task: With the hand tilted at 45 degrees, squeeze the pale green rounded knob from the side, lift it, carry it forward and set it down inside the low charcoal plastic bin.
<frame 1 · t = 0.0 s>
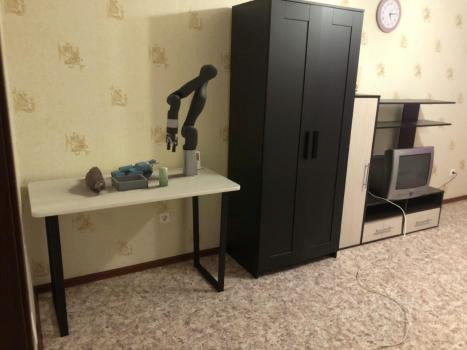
hand: (171, 151, 244), 17 cm above the table, tool pointing down, fingers open, 8 cm apart
toy: (136, 177, 245), on the table
bin: (130, 186, 223), on the table
pale green rounded knob: (163, 185, 227), on the table
cassava root: (94, 186, 221), on the table
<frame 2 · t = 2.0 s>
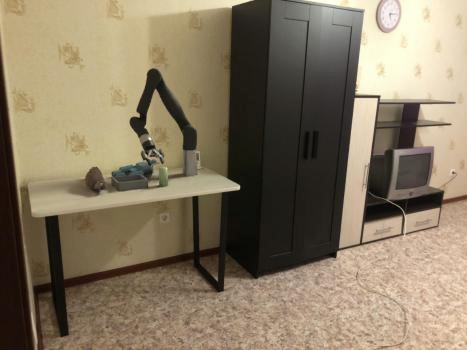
hand: (157, 164, 229), 12 cm above the table, tool tilted 45°, fingers open, 8 cm apart
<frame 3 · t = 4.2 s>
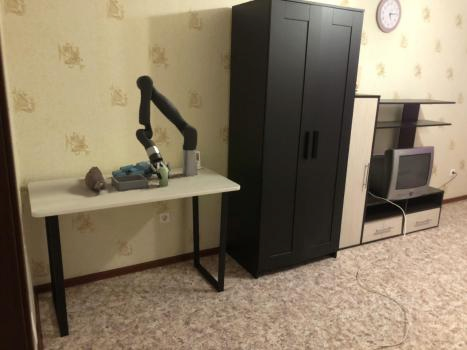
hand: (165, 178, 224), 5 cm above the table, tool tilted 45°, fingers closed on pale green rounded knob, 5 cm apart
pale green rounded knob: (163, 185, 227), on the table, touching gripper
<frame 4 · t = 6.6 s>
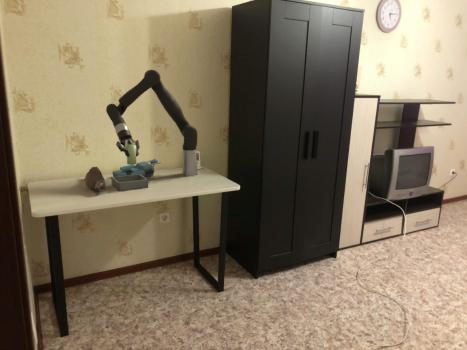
hand: (133, 155, 217), 19 cm above the table, tool tilted 45°, fingers closed on pale green rounded knob, 5 cm apart
pale green rounded knob: (131, 163, 219), point 14 cm above the table, touching gripper
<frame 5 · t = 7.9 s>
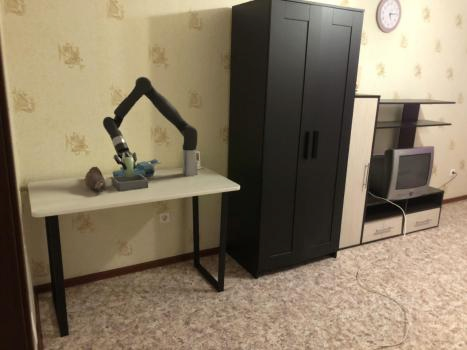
hand: (130, 168, 219), 11 cm above the table, tool tilted 45°, fingers closed on pale green rounded knob, 5 cm apart
pale green rounded knob: (129, 176, 221), point 6 cm above the table, touching gripper
when the fingers open (7 cm above the table, at t = 8.9 s): pale green rounded knob drops 2 cm, resting on bin.
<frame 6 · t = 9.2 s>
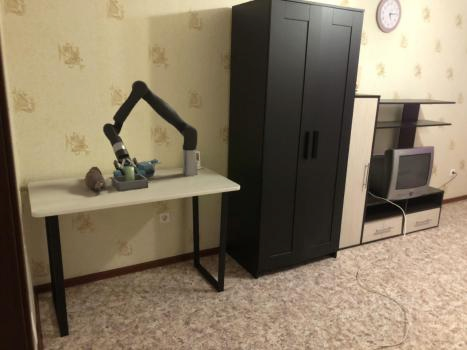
hand: (130, 174, 220), 8 cm above the table, tool tilted 45°, fingers open, 7 cm apart
pale green rounded knob: (130, 185, 223), point 1 cm above the table, touching bin
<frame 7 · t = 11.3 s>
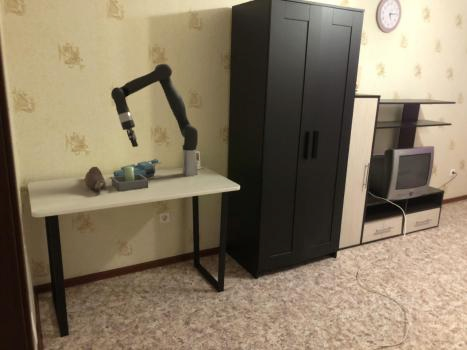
hand: (135, 146, 226), 23 cm above the table, tool tilted 20°, fingers open, 8 cm apart
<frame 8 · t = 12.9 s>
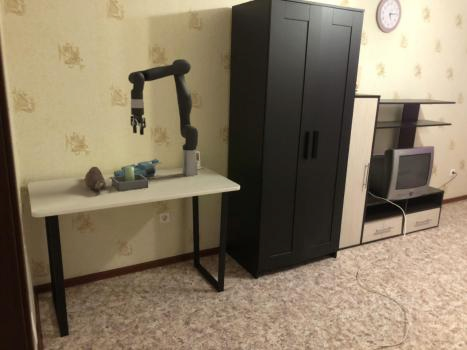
hand: (138, 134, 225), 30 cm above the table, tool pointing down, fingers open, 8 cm apart
at the end: pale green rounded knob inside the target area on the bin (0.1 cm from its centre), point 0.7 cm above the bin's base; the gripper is holding nothing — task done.
